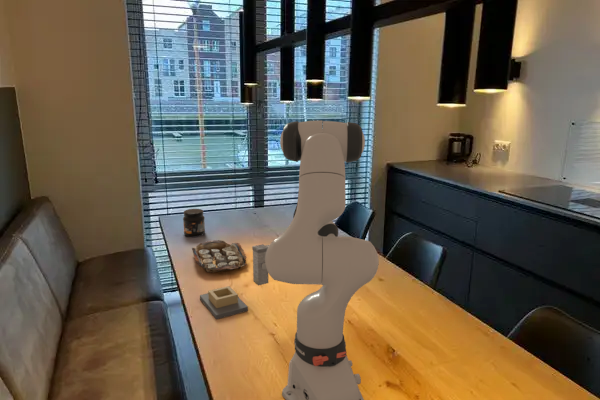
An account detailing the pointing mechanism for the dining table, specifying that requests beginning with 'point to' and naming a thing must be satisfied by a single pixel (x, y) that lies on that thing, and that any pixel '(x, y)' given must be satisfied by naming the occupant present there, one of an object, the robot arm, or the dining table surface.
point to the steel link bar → (259, 264)
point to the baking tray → (219, 255)
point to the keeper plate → (223, 302)
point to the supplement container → (194, 222)
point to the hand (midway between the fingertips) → (258, 263)
